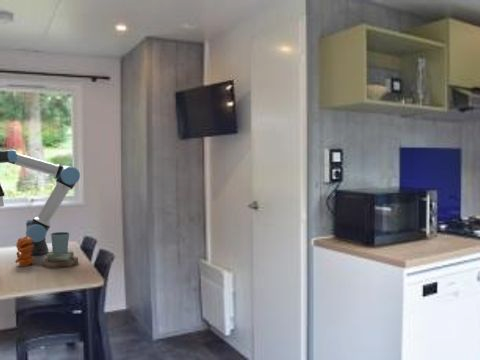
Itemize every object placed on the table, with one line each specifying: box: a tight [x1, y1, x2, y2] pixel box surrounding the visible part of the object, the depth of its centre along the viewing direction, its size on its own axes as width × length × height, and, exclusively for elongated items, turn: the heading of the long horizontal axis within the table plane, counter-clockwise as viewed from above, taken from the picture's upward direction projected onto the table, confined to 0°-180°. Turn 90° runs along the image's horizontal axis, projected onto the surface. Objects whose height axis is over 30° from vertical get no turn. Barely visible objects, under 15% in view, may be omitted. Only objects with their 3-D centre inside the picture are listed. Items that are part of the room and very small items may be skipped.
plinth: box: [42, 249, 79, 269], centre depth 274 cm, size 20×20×7 cm
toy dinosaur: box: [14, 235, 35, 267], centre depth 272 cm, size 11×11×18 cm
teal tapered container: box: [50, 231, 70, 254], centre depth 274 cm, size 10×10×12 cm
